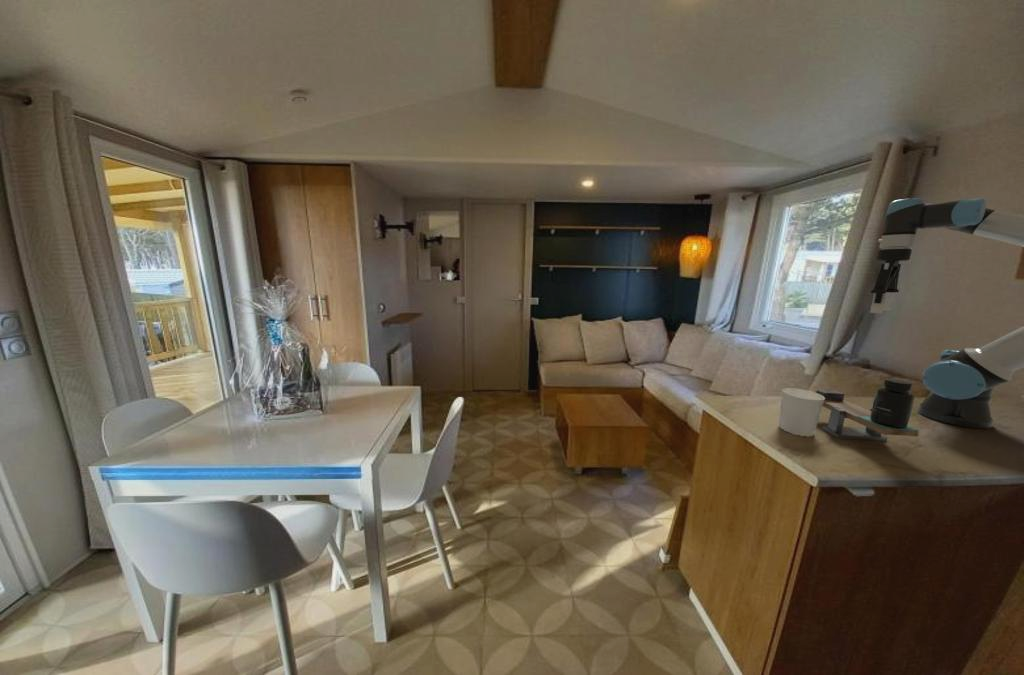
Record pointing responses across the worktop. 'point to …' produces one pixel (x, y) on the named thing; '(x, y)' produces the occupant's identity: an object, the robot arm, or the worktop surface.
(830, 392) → the beam
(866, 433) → the stand
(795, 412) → the white cylinder
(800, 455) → the worktop surface
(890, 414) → the supplement bottle
